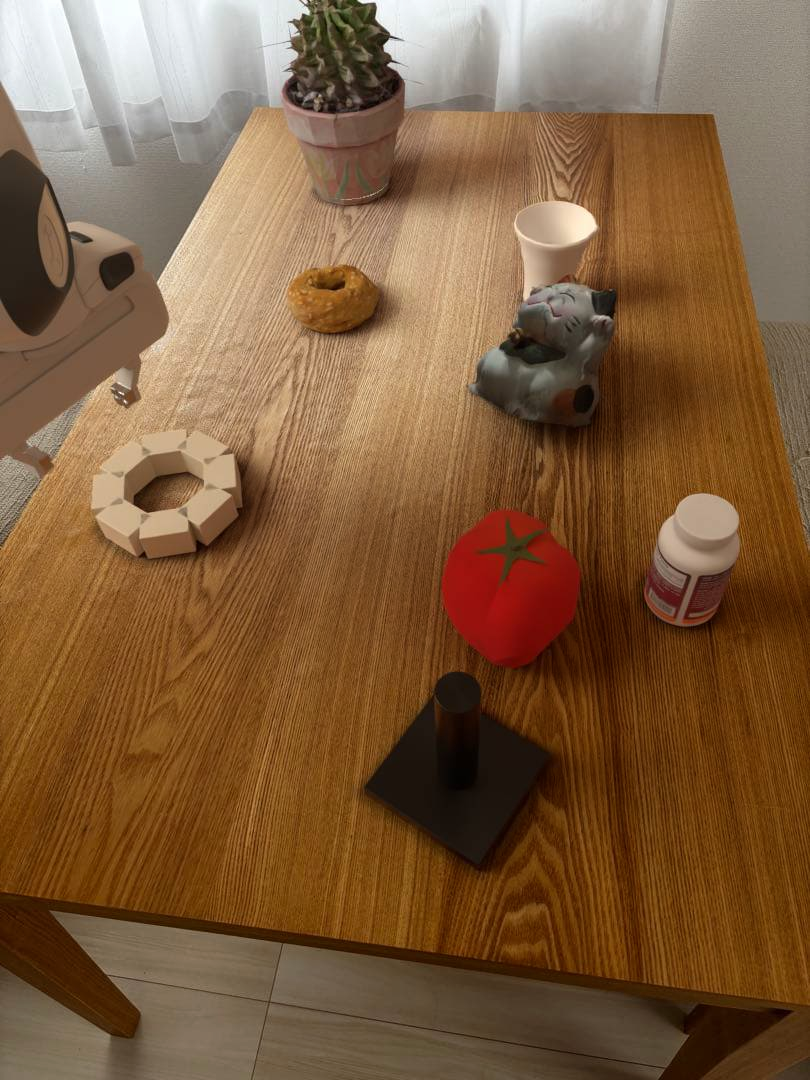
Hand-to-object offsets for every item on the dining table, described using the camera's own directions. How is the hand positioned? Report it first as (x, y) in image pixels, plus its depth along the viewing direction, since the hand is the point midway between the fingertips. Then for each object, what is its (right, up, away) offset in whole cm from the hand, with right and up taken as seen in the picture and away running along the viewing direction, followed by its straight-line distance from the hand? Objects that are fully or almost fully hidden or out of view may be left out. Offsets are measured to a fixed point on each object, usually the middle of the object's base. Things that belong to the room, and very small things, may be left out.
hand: (87, 435), depth 71 cm
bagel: (+18, +18, +30) cm, 40 cm away
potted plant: (+20, +39, +47) cm, 64 cm away
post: (+30, -26, -6) cm, 40 cm away
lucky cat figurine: (+40, +7, +20) cm, 45 cm away
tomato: (+35, -16, +3) cm, 38 cm away
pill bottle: (+50, -14, +3) cm, 51 cm away
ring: (+4, -5, +13) cm, 14 cm away
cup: (+43, +19, +30) cm, 56 cm away
